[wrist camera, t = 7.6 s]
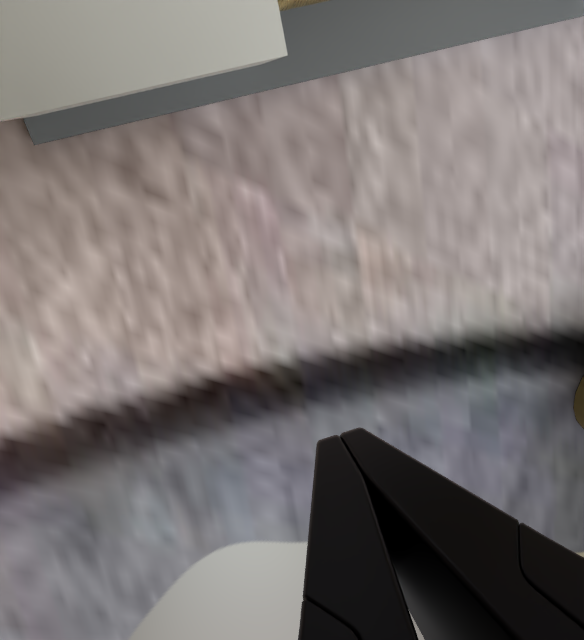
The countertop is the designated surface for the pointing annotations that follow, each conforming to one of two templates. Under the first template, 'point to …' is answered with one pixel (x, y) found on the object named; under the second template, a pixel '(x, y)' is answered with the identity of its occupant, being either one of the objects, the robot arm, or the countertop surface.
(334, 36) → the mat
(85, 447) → the countertop surface
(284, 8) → the bolt
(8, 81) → the sleeve
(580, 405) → the cork
